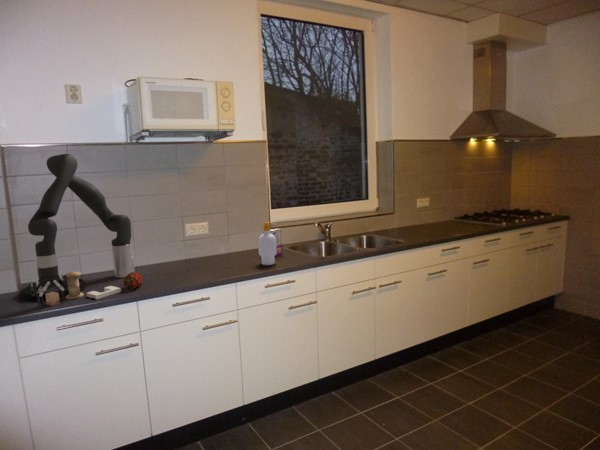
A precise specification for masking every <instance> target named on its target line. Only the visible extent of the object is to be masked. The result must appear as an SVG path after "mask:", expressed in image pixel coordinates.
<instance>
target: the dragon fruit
mask: <svg viewBox="0 0 600 450" xmlns="http://www.w3.org/2000/svg"><path fill="white" fill-rule="evenodd" d="M143 280H144V279H143V276H142V275H141V274H140V273H138V272H136V271H135V272H132V273H129V274H128V275H127V276H125V277H123V284H122V285H123V286H124V287H127V288H128V289H132V290H135V289H136V288H141V287H142V282H143Z"/></svg>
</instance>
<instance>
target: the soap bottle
mask: <svg viewBox="0 0 600 450" xmlns="http://www.w3.org/2000/svg"><path fill="white" fill-rule="evenodd" d="M271 222H272V221H267V222H265V221H264V223H263V224H264V225H262V226H263V230H262V231H264V234H263V233H262V234H261V235H260V236H259V237H258V241H257V244H258V255H259V256H260V257H261V259H260V260H261V264H262V265H263V266H271V265H275V263H276V261H275V260H276V259H275V257H276V256H274V255H276V254H277V249H276V238H275V236H274V235H273V234H270V230H271V228H270V227H271V226H270V224H271Z"/></svg>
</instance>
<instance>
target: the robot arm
mask: <svg viewBox="0 0 600 450" xmlns="http://www.w3.org/2000/svg"><path fill="white" fill-rule="evenodd" d="M46 167H47V169H48V170H49V172H50V173H51V174H52V175H53V176H55V179H54V181H53V182H52V183H51V185H50V186H49V187H48V188H47V190H46V191H45V192H44V194H43V196H42V197H41V198H42V199H41V201H40V203H39V207H38V209H37V210H36V211H35V213H34V214H33V215H32V217H31V218H30V220H29V222H28V223H27V224H28V225H27V229H28V232H29V234H30V235H32V236H36V237H38V236H40V237H43V238H42V240H40V241H37V242H36V243H35V246H34V248H35V255H36V262H35V263H36V269H37V270H36V271H37V278H38V281H31V282H30V284H29V285H31V293H32V296H37V298H38V301H37V303H38V304H39V305H41V306H44V305H45V302H44V301H45V300H43V296H42V295H43V293H46V290H49V289H52V288H53V289H54V288H57V289H58V291H59V300H64V298H65V297H64V290H65V289H67V288H68V281H67V276H66V275H64V274H61V275H59V267H58V258H57V255H56V247H55V243H56V239H57V238H56V237H57V233H58V225H57V222H55V220H54V219H51V218H53V217H56V216H57V215H58V211H59V209H60V205H61V202H62V200H63V197H64V195H65V192H66V190H67V188H68V189H70V190H71V191H72V193H74V194H75V195H76V196H77V197H78V198H79V200H81V201H82V202H83V204H85V206H86V207H88V208H89V209H90V210H91V211H92V213H94V215H96V216H97V218H99V220H100V221H101V222H102V224H103V225H104V226H105V227H106V229H107V230H108V231H110V232H113V233H116V237H115V238H113V239H111V251H112V258H113V259H112V260H113V269H114V277H115V278H120V279H121V278H122V279H124V277H125V276H127V275H128V274H129V273H132V272H136V270H135V269H136V268H135V259H134V257H133V255H132V245H131V239H132V226H131V225H132V224H131V219H130V218H129V216H128V215H126V214H115V213H114V212H113V211H112V210H111V209H109V207H108V206H107V201H106V198H105V196H104V194H103V193H102V192H101V191H100V190H99V189H98V187H96V186H95V185H94V184H92V183H91V182H89V181H87V180H85V179H83V178H80V177H79V176H77V175H76V174H75V173H76V172H77V169H78V160H77V158H76V157H75V156H74V155H72V154H70V153H62V154H56V155H52V156H50V157H48V158H47V159H46ZM60 279H61V280H62V285H60V284H59V283H58V282H59V280H60ZM38 284H39V285H41V286H40V288H39V290H37V286H38Z"/></svg>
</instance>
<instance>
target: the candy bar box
mask: <svg viewBox="0 0 600 450" xmlns="http://www.w3.org/2000/svg"><path fill="white" fill-rule="evenodd" d="M262 234H264V230H262ZM270 234H273V235H274V236H275V238H276V249H277V254H276V255H274V256H275V257H277V256H281V255H283V245H282V229H281V228H273V229H270Z"/></svg>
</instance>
